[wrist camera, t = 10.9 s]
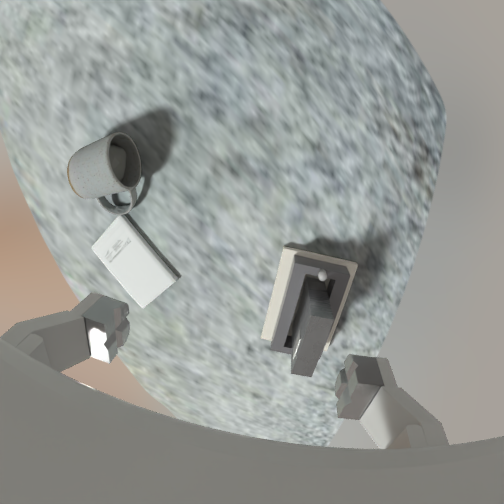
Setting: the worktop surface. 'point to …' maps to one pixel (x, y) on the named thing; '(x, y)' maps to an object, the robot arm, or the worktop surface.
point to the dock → (291, 287)
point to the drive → (310, 327)
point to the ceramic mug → (106, 171)
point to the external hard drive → (133, 261)
